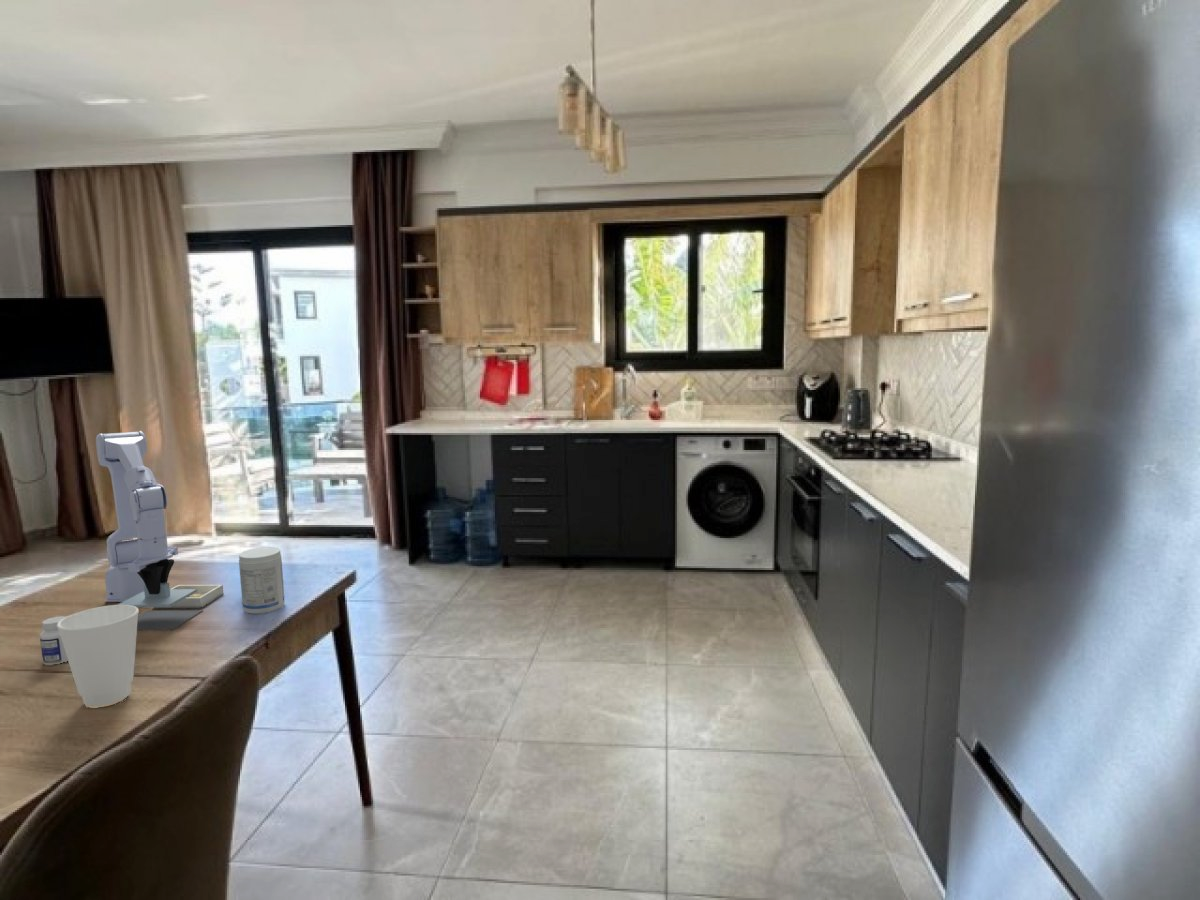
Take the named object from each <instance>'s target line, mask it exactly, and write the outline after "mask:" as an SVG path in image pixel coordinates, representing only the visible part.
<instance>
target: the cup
mask: <svg viewBox="0 0 1200 900" xmlns="http://www.w3.org/2000/svg"><path fill="white" fill-rule="evenodd" d="M139 612H140V610H139V607H135V606H132V605H117V604H112V605H104V606H103V605H102V606H98V607H97V606H96V607H93V608H89V609H85V610H81V611H78V612H74V613H72V614H69V615H68V616H65V618H63V619H62V620H60V621H59V622H58V624H57V628H58V630H59V633H60V636H61V639H62V643H63V646H64V649H65V652H66V655H67V658H68V665H69V667H70V671H71V674H72V677H73V679H74V680H73V681H74V683H75V687H76V690H77V692H78V695H79V696H81V698H82V702H83V705H84V704H85V705H87V706H101V705H106V704H110V703H114V702H117V701H120V700H122V699H123V698H125V697H127V696H128V695H129V694H130V692H131V693H132V683H133V681H134V673H135V659H136V647H137V646H136V644H137V634H138V633H137V632H138V630H137V620H138V616H139ZM130 695H131V694H130Z"/></svg>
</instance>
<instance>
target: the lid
mask: <svg viewBox="0 0 1200 900" xmlns="http://www.w3.org/2000/svg"><path fill="white" fill-rule="evenodd" d="M195 592H197V589H171V588H170V583H169V582H167V583H160V593H159V594H149V592H148V590H147V587H146V585H144V591H143V592H141V593H139V594H137V595H135V596H133V597H131V598H129V599H127V600H125V601H123V602H119V603H118V604H116V605H132V606H135V607H137V608H154V607H170V606H172V605H174V604H176V603H177V602H179V601H181V600H183V599H185V598H186V597H188V596H190V595H192V594H193V593H195Z"/></svg>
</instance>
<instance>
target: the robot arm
mask: <svg viewBox="0 0 1200 900" xmlns="http://www.w3.org/2000/svg"><path fill="white" fill-rule="evenodd" d="M95 448H96V454H97V460H98V463H99V466H102V467H104V468H105V467H106V468H107V469H108V471H109V474H110V478H111V479H110V480H111V486H112V491H113V493H112V494H113V498H114V500H113V501H114V506H115V515H116V521H117V522H116V523H117V529H116V530H114V532H112V534H110V535H109V536H108V537H107V539H106V558H107V562H108V564H109V567H108V568H107V570H106V572H105V576H104V581H105V591H106V599H104V601H105V602H106V603H109V602H110V603H112V602H113V603H114V602H115V603H116V602H117V603H118V602H119V603H121V602H123V601H125V600H127V599H129V598H131V597H133V596H135V595H137V594H139V593H141V592H143V591H144V585H146V587H147V590H148V592H149V594H159V593H160V583H168V579H169V576H170V572H171V571H172V567H173V566H174V564H175V559H172V558H173V556H177V555H178V554H179V550H178V549H179V548H178V546H169V545H168V537H167V536H168V535H167V527H166V526H167V525H166V516H165V514H166V512H165V510H167V506H168V497H167V493H166V488H165V487H164V486H163V485H162V484H161V483H158V482H157V480H156V478H155V475H154V473H153V471H152V469H151V468H149V467H147V466H145V465H144V461H143V459H144V456H145V454H146V453H147V449H148V443H147V437H146V435H145V433H144V432H143V431H142V430H138V431H128V432H114V433H98V434H97V435H96V437H95ZM123 540H124V541H123Z"/></svg>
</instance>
